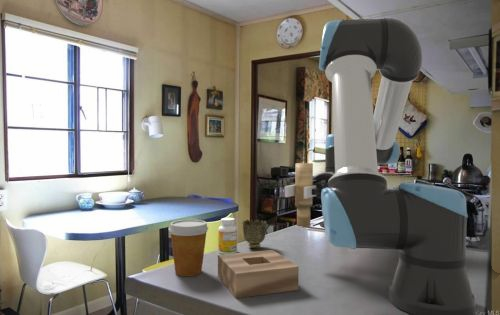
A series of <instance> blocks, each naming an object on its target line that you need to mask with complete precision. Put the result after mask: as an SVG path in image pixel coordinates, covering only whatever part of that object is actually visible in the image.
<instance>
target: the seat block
mask: <svg viewBox="0 0 500 315" xmlns="http://www.w3.org/2000/svg"><path fill="white" fill-rule="evenodd" d="M299 269H300V268H299V266H298V265H296V264H295V263H294V262H292V261H290V260H289V259H288V258H286V257H284V256H283V255H282V254H280V253H279V252H276V251H275V250H274V249H268V250H258V251H257V250H256V251H248V252H247V251H246V252H236V253H234V254H217V277H218V278H219V280H220V281H221V282H222V283H223V285H224V286H225V287H226V288H227V290H228V291H229V293H230V294H232V295H233V297H234V298H235V299H241V298H247V297H255V296H257V297H258V296H262V295H271V294H276V293H277V294H278V293H279V294H280V293H285V292H293V291H299V275H300V274H299V273H300V272H299Z"/></svg>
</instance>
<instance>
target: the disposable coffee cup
mask: <svg viewBox="0 0 500 315" xmlns="http://www.w3.org/2000/svg"><path fill="white" fill-rule="evenodd" d="M208 230H209V226H208V224H207V222H206V221H205V220H201V219H181V220H174V221H172V222H171V223H170V225H169V227H168V232H169V234H170V238H171V239H170V241H171V247H172V250H171V251H172V257H173V263H174V271H175V275H177V276H180V277H194V276H198V275H200V274H202V272H203V271H202V270H203V263H204V255H205V247H206V241H207V240H206V238H207V232H208Z"/></svg>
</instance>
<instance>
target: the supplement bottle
mask: <svg viewBox="0 0 500 315" xmlns="http://www.w3.org/2000/svg"><path fill="white" fill-rule="evenodd" d="M235 220H236V219H235V218H234V217H223V218H221V219H220V224H221V225H219V227H218V238H217V239H218V241H217V242H218V253H219V254H220V255H223V254H234V253H238V227H237V226H236V225H235V223H236V221H235Z"/></svg>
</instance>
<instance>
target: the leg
mask: <svg viewBox="0 0 500 315" xmlns="http://www.w3.org/2000/svg"><path fill="white" fill-rule="evenodd" d="M313 164H314V163H313V162H297V163H295V165H294V166H295V168H294V170H295V172H294V173H295V177H294V178H295V182H294V183H295V197H294V200H295V202H294V206H295V207H296V226H297V227H301V228H305V227H311V208H312V207H313V206H314V205H313V204H314V203H313V197H311V198H307V199H304V187H308V186H313V178H314V173H313V171H314V169H313V168H314V165H313Z"/></svg>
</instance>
